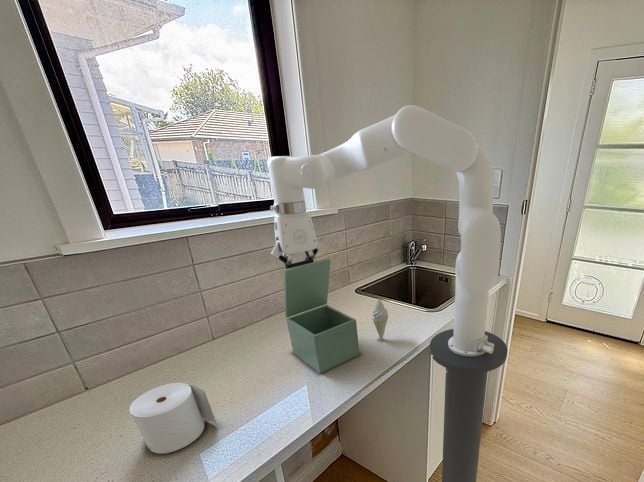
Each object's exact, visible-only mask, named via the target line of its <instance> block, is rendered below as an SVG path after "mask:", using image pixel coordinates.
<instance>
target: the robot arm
mask: <svg viewBox="0 0 644 482" xmlns="http://www.w3.org/2000/svg"><path fill="white" fill-rule="evenodd" d="M409 153H413V154H415V155H417V156H419V157H421V158H424V159H425V160H429V161H431V162H433V163H435V164H437V165H439V166H442V167H444V168H446V169H448V170H450V171H452V172H454V173H455V174H456V177H457V181H458V198H459V200H458V222H457V229H458V233H459V235H460V252H459V253H458V254H457V256H456V258H455V265H454V269H455V270H454V271H455V273H454V274H455V291H454V292H455V293H454V311H453V312H454V313H453V329H454V332H453V337H451V338H450V339H449V341H448V347H449V349H450V350H451V351H452V352H454V353H456V354H458V355H461V356H468V357H474V356H479V355H482V354H484V353H486V352H488V353H490V354H492V353H493V350H494V348H493V347H494V344H493V343H490V342H488V341H487V338H488V336H487V335H485V331H486V324H487V313H488V303H489V295H490V294H489V291H490V289H491V288H492V287H493V286H494V284H495V283H496V281H497V279H498V277H499V270H500V257H501V245H502V242H501V241H502V230H501V229H502V228H501V224H500V221H499V218H498V217H497V216H496V215H495V214H494V173H493V166H492V164H491V161H490V158H489V156H488V155H487V153H486V152H485V150H484V148H483V147H482V146H481V145H480V144H479V143H478V140H477V138H476V136H475V135H474V134H473V132H471V131H470V130H468V129H467V128H465V127H462V126H461V125H459V124H457V123H455V122H452V121H450V120H448V119H445V118H444V117H441V116H439V115H437V114H436V113H433V112H431V111H429V110H427V109H425V108H423V107H422V106H419V105H414V104H409V105H408V104H407V105H404V106H403V107H401V108H400V109H399V110H397V112H396V113H395V114H394V115H392V116H389V117H387V118H385V119H383V120H380V121H378V122H376V123H373V124H371V125H368V126H367V127H364V128H361V129H359V130H358V131H356V132H355V133H354V134H353V135H352V136H351V137H350V138H349V139H348V140H347V141H345V142H344V143H342V144H340V145H338V146H335V147H334V148H333V147H332V148H331V149H329V150H327V151H325V152H322V153H320V154H308V155H301V156H292V155H281V156H280V155H276V156H270V157H268V159H267V169H268V174H269V180H270V181H269V182H270V185H271V191H272V196H273V201H274V202H273V205H270V207H269V209H270V211H271V212H275V214H274V216H273V217H274V218H273V219H274V220H273V229H274V239H275V243H274V246H273V248H272V250H271V252H270V256H272V257H274V258H276V259H277V260H279V261H280V262H282V263H284V265H285V269H288V268H292V267H294V265H293V264H292V262H293V255H295V254H300V253H304V254H305V256H306V257H304V261H305V260H309V261H310V263H312V262H315V261H314V260H315V259H316V255H317V253H318V252H319V250H320V249H321V248H322V246H323V244H322V242H321V241H320V240H319V239H318V238H317V235H316V230H315V226H314V222H313V219H312V216H311V213H310V212H308V211H307V209H306V201H305V194H304V189H312V190H315V189H320V188H322V187H325V186H328V185H330V184H333V183H336V182H337V181H340V180H342V179H345V178H347V177H349V176H352V175H354V174H357V173H359V172H362V171H367V170H371V169H373V168H375V167H378V166H380V165H382V164H385V163H388V162H390V161H392V160H395V159H397V158H400V157H402V156H405V155H407V154H409ZM279 252H280V253H282V254H280V253H279Z"/></svg>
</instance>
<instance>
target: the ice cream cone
mask: <svg viewBox="0 0 644 482" xmlns="http://www.w3.org/2000/svg"><path fill="white" fill-rule="evenodd" d="M371 319H372V322H373V324H374V327H375V330H376V331H377V335H378V337H379V339H380V341H383V339H384V335H385V332H386V331H385V330H386V326H387V322H388V319H389V313H388V310H387V308H385V304H383V302H382V300H381V298H380V297H378V299H377V303H376V304H375V308H374V310H373V311H372V318H371Z"/></svg>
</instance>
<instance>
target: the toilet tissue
mask: <svg viewBox="0 0 644 482" xmlns="http://www.w3.org/2000/svg"><path fill="white" fill-rule="evenodd" d="M128 410H129V413H130V415H131V417H132V419H133V422H134V423H135V424H136V427H137V429H138V431H139V432H140V435H141V436H142V439H143V440H144V443H145V444H146V446H147V448H148V449H149V450H150V451H151V452H152V453H155V454H158V455H159V454H169V453H172V452H176V451H179V450H181V449H183V448H185V447H187V446H188V445H190V444H192V443H193V442H194V441H196V440H197V439H198V438H199V437H200V436H201V435H202V433H203V432H204V430H205V427H206V426H205V424H206V423H205V421H204V419H206V420H208V421H209V422H212V423H214V424H215V425H218V423H217V420H216V418H215V415H214V413H213V409H212V407H211V404H210V402H209V399H208V396H207V393H206V391H205V390H203V388H200V387H198V386H196V385H194V384H189V383H185V382H172V383H166V384H163V385H159V386H157V387H154V388H152V389H149V390H147V391H146V392H144V393H143V394H140V395H139V396H138V397H137V398H136V399H135V400H133V401H132V403H131V404H130V406H129V409H128Z"/></svg>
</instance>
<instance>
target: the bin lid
mask: <svg viewBox="0 0 644 482" xmlns="http://www.w3.org/2000/svg"><path fill="white" fill-rule="evenodd" d="M292 264H293V265H294V267H292V268H288V269H286V268H284V269H283V281H284V313H285V314H284V316H285V319H286V318H289V317H292V316H295V315H298V314H301V313H304V312H307V311H310V310H313V309H315V308H318V307H321V306H324V305H328V297H329V286H330V285H329V283H330V271H331V258H325V259H320V260H317V261H314V262H312V263H310V261H309V260H305V259H304V260H302V261H297V262H293V263H292Z"/></svg>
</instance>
